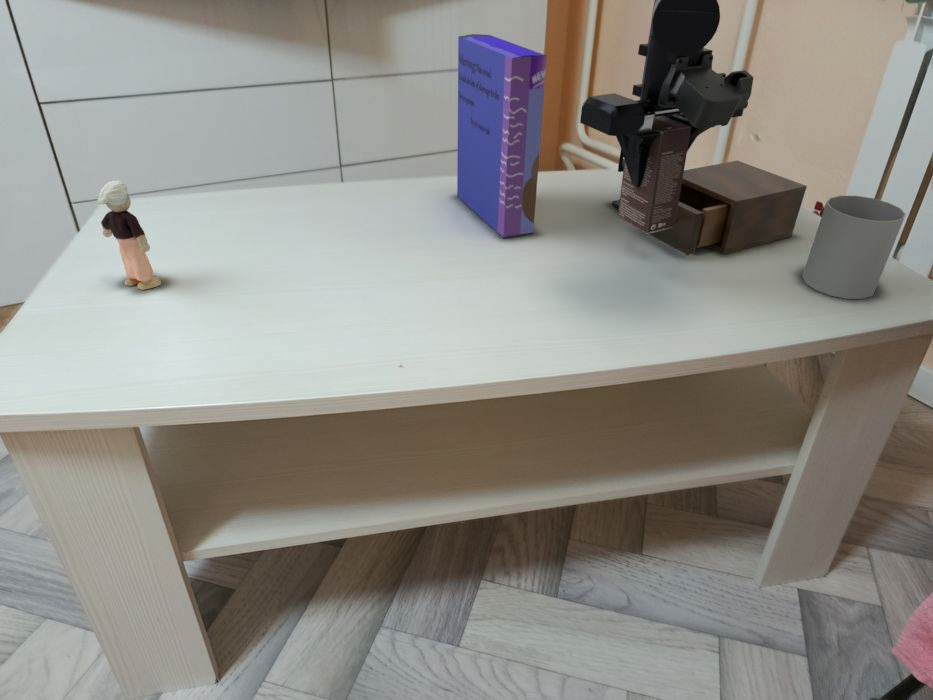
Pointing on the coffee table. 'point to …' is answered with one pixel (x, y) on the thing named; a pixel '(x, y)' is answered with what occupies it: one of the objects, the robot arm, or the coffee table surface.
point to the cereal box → (499, 131)
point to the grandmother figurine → (127, 235)
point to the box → (657, 180)
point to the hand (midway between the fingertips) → (651, 182)
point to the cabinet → (749, 202)
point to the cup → (852, 246)
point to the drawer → (696, 221)
